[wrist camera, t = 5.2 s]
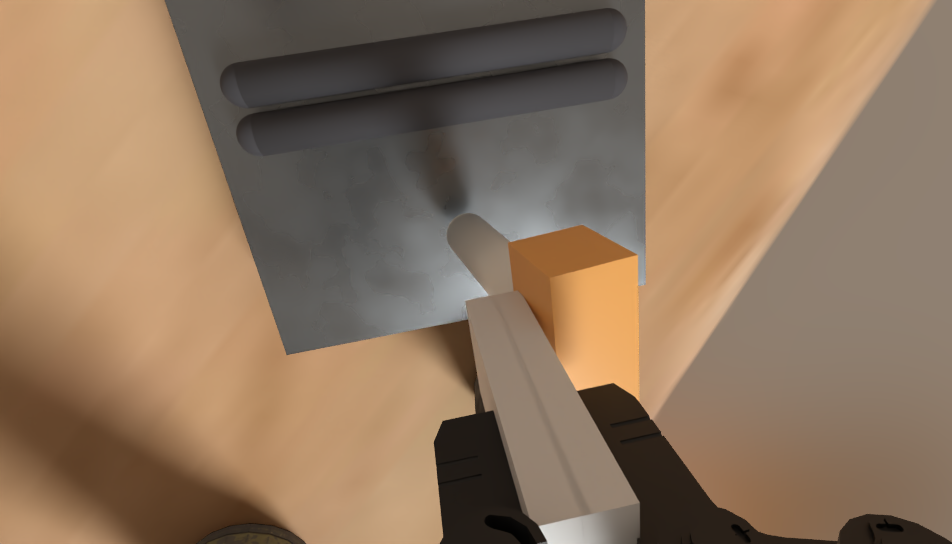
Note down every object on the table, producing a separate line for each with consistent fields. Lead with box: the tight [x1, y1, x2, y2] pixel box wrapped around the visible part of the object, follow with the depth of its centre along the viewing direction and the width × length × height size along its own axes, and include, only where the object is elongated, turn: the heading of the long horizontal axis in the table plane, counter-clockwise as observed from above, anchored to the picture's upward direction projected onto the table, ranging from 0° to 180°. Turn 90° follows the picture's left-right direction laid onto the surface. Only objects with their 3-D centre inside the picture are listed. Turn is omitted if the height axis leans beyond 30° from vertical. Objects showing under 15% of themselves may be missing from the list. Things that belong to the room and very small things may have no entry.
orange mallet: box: [446, 213, 639, 401], centre depth 16 cm, size 2×5×12 cm, turn 9°
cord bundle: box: [220, 8, 628, 156], centre depth 19 cm, size 16×3×2 cm, turn 98°
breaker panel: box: [165, 0, 646, 355], centre depth 22 cm, size 18×22×5 cm
